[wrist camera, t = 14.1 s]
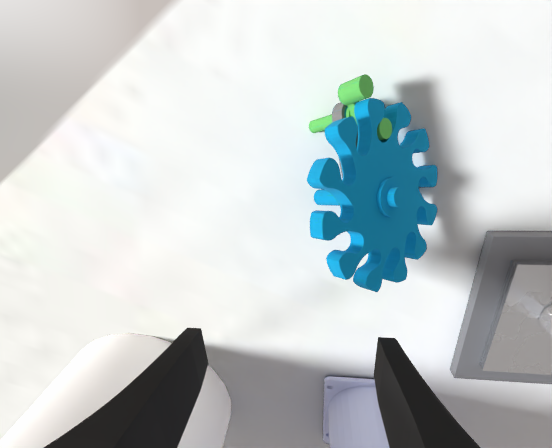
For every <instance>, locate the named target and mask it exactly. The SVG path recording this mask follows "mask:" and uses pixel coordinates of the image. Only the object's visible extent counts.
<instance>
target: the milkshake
mask: <svg viewBox="0 0 552 448" xmlns="http://www.w3.org/2000/svg"><path fill="white" fill-rule="evenodd" d="M538 321H539V324H540V327H541V330H542V331H543V333H544V334H545V335H546V337H547V338H548V339H549V340H550V341H551V343H552V305H550V306H548V307H547V308H545V309H544V311H543V313H542V314H541V316H540V318H539V319H538Z"/></svg>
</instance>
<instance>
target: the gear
mask: <svg viewBox="0 0 552 448" xmlns="http://www.w3.org/2000/svg"><path fill="white" fill-rule="evenodd" d="M372 94H373V82H372V80H371V78H370V77H369V76H368V75H362V76H360V77H357V78H355V79H353V80H350V81H348V82H346V83H343V84H341V85H340V86H339V89H338V97H339V100H340V101H341V102H340V103H338V104H336V105H335V107H334V108H333V111H332V115H329V116H326V117H322V118H319V119H316V120H313V121H311V122H310V124H309V129H310V131H311V132H312V133H316V132H320V131H324V130H325V136H326V139H327V141H328V142H329V143H330V144H331V145H332V146H333V147H334V149H335V150H336V152H337V154H338V156H339V161H340V166H341V172H342V177H343V180H342V179H341V175H340V169H339V166H338V164H337V162H336V161H335V160H334V159H332V158H325V159H318V160H316V161H315V162H314V163H313V165H312V167H311V169H310V172H309V175H308V178H307V181H308V183H309V185H310V186H311V187H313V188H317V189H323V190H317V191H316V192H315V194H314V200H315V202H316V204H318V205H340V207H341V214H340V217H338V216H337V215H336V213H334V212H332V211H314V212H312V213H311V217H310V233H311V237H313V238H316V239H322V240H332V239H334V238H335V237H336V236H337V235H339V234H340V233H342V232H345V231H347V232H348V233H349V234H350V236H351V243H350V246H349V248H348V249H347V250H345V251H340V250H333V251H331V252H330V253H329V255H328V256H327V258H326V259H327V264H328V267H329V269H330V271H331V272H332V274H333V276H336V277H339V278H342V279H346V280H347V279H349V278H351V277H352V276H353V274H354V273H355V274H354V278H353V281H354V283H355V284H356V285H358V286H360V287H362V288H365V289H369V290H372V291H375V292H378V291H379V289H380V287H381V283H382V279H385V280H389V281H393V282H401V281H403V280H405V279H406V277H407V267H406V264H405V257H406V258H412V259H417V260H418V259H419V258H420V257H421V256H422V255H423V254H424V252H425V251H426V249H427V245H426V241H425V240H424V239H423V238H422V236H421V235H420V233H419V229H418V225H417V224H423V225H432V224H433V222H434V220H435V217H436V213H437V207H436V205H435V204H430V203H428V202H426V201H425V200H424V198H423V197H422V195H421V193H420V191H419V187H435V186H436V183H437V167H436V166H435V165H428V166H419V167H418V168H417V167H415V166H414V164H413V161H412V154H413V153H419V152H425V151H427V150H428V148H429V140H428V136H427V133H426V130H425V129H424V128H423V129H418V130H413V131H409V132H407V134H406V136H405V138H404V140H403V142H402V143H401V144H400V145H399V144H398V139H397V136H398V132H399V130H400V129H401V128H405V127H407V126H408V125H409V124H410V121H411V114H410V112H409V110H408V109H407V108H406V106H405V105H404V104H403V103H402V102H400V103H397V104H393V105H390V106H387V107H386V108H385V107H384V103H383V102H382V101H381V100H378V99H374V98H369V97H371V95H372ZM366 98H369V99H366ZM364 99H366V100H364ZM361 100H363V101H361ZM367 253H368V260H367V262H366V263H365V264H364V265H363V266H361V267H359V268H358V269H357V270H356V268H357V266H358V264H359V262H360V261H361V259H362V258H363V257H364V256H365V255H366V254H367ZM355 270H356V272H355Z"/></svg>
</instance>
